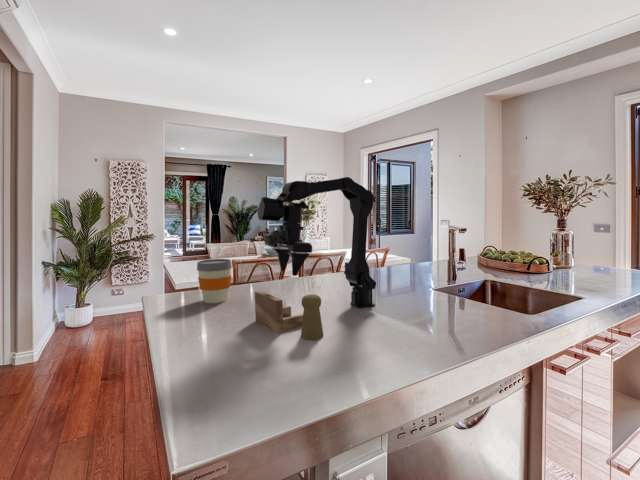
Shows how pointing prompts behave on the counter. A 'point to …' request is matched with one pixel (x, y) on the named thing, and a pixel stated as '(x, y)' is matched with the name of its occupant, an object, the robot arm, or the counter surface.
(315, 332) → the cork
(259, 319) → the post bracket
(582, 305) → the counter surface
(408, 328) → the counter surface
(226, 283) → the reusable coffee cup
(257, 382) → the counter surface
